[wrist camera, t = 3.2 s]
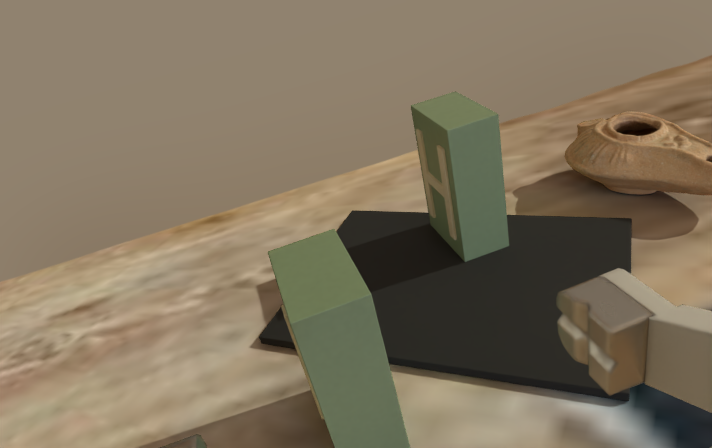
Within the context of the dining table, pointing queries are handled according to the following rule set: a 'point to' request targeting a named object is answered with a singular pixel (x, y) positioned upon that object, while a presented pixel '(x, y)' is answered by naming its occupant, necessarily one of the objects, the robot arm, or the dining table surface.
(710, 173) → the pottery oil lamp
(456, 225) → the letter H
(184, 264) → the dining table surface
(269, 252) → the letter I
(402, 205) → the dining table surface
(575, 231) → the word mat
